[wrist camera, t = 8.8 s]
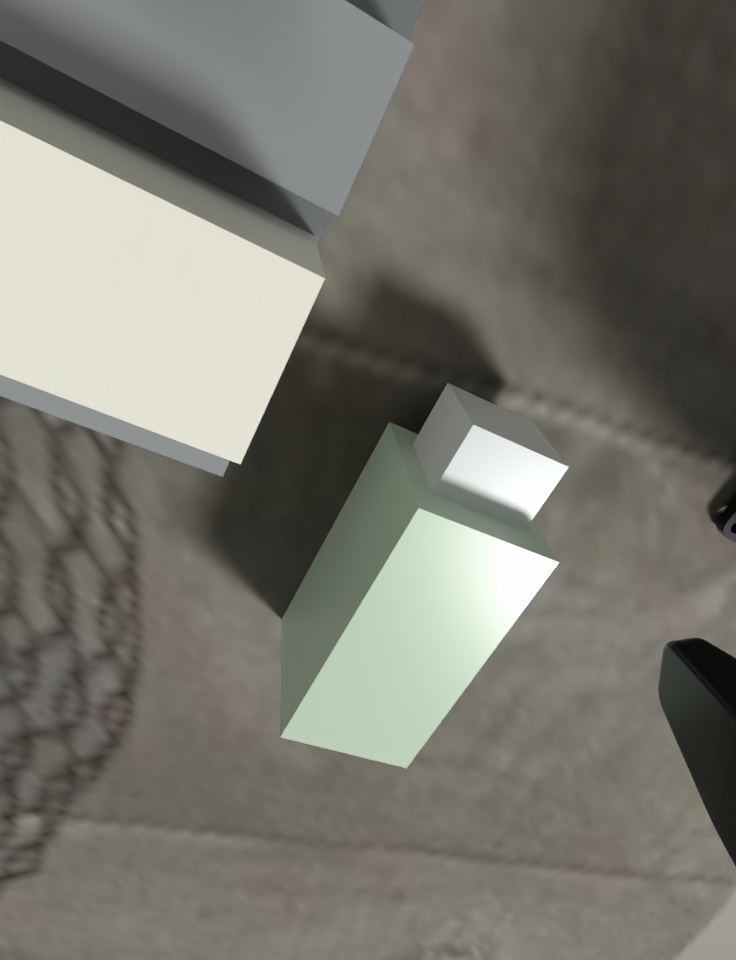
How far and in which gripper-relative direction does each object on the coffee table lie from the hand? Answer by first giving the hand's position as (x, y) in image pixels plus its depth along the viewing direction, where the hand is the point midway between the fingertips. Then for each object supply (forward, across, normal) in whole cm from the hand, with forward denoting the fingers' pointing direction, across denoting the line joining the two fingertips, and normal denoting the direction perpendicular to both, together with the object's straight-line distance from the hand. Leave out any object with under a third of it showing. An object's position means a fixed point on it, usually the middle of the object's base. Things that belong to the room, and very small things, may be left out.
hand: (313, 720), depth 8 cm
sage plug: (+12, -2, +5) cm, 13 cm away
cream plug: (+11, +4, -5) cm, 13 cm away
